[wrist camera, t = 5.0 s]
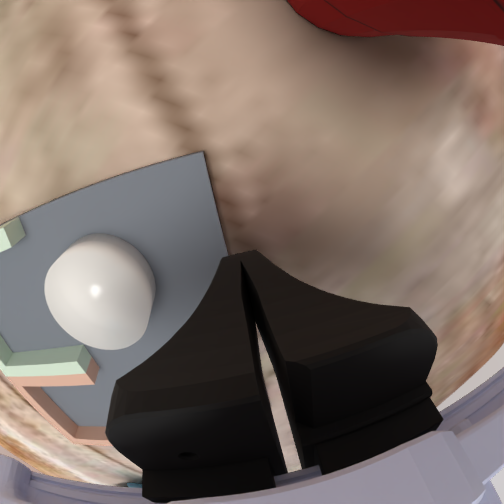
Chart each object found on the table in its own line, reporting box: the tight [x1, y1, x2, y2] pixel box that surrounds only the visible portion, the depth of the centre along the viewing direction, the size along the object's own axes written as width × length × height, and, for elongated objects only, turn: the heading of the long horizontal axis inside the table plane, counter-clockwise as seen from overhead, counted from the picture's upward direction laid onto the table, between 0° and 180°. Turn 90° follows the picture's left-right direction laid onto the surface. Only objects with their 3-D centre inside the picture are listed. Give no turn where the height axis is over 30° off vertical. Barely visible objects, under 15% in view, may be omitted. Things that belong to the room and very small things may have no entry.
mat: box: [0, 151, 228, 427], centre depth 15 cm, size 18×19×1 cm
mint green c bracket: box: [0, 217, 92, 377], centre depth 11 cm, size 9×8×1 cm
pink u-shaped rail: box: [7, 357, 113, 446], centre depth 15 cm, size 9×8×1 cm
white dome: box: [44, 233, 156, 350], centre depth 11 cm, size 5×5×2 cm
